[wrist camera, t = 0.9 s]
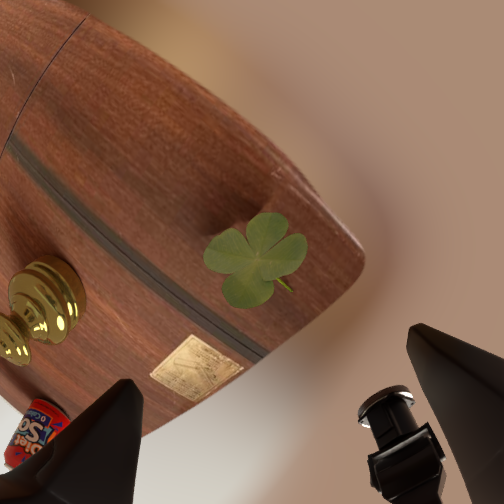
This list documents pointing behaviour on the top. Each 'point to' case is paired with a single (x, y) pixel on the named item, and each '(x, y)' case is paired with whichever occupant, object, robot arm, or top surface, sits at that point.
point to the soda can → (34, 431)
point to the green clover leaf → (255, 259)
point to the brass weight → (40, 307)
